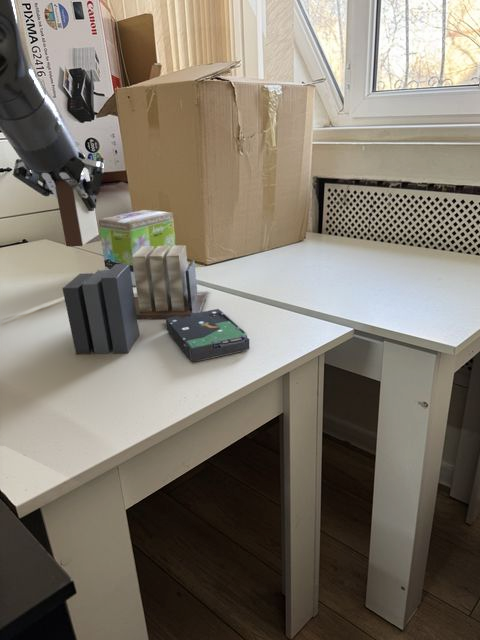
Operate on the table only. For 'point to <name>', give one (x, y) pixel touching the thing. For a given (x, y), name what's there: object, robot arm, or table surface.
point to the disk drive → (207, 335)
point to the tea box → (134, 235)
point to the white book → (75, 215)
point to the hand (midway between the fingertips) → (82, 206)
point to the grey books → (102, 311)
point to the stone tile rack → (165, 283)
